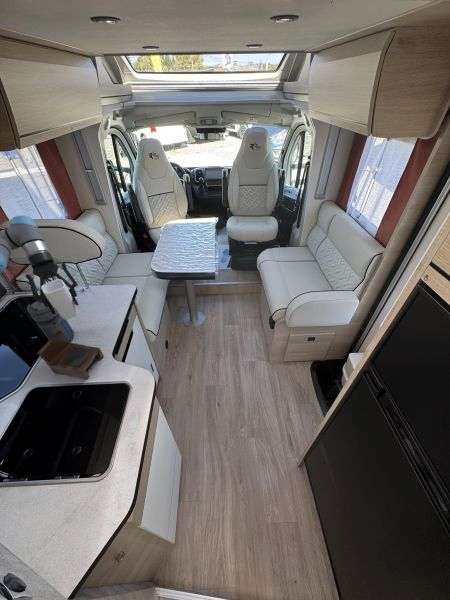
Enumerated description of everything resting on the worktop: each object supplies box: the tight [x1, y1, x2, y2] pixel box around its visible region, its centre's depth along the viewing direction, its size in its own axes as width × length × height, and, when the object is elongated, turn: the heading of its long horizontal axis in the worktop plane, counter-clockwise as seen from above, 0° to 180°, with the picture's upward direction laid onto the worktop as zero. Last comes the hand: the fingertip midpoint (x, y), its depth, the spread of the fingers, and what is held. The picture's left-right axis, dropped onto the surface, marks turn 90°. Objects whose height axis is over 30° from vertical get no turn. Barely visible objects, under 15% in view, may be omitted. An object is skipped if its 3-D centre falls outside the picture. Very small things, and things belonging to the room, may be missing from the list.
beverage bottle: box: [26, 300, 75, 343], centre depth 113 cm, size 10×13×25 cm
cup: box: [41, 278, 79, 320], centre depth 98 cm, size 7×7×15 cm
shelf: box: [37, 330, 105, 381], centre depth 105 cm, size 16×12×14 cm
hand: (65, 309), depth 98 cm, fingers closed on cup, 8 cm apart
